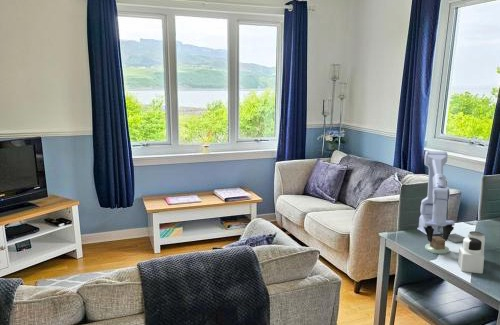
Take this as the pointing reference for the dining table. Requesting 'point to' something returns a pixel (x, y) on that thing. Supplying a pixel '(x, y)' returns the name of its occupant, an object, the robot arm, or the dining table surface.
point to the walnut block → (437, 243)
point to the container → (471, 256)
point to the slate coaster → (455, 238)
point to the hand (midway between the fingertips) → (437, 240)
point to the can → (478, 236)
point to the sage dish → (432, 250)
